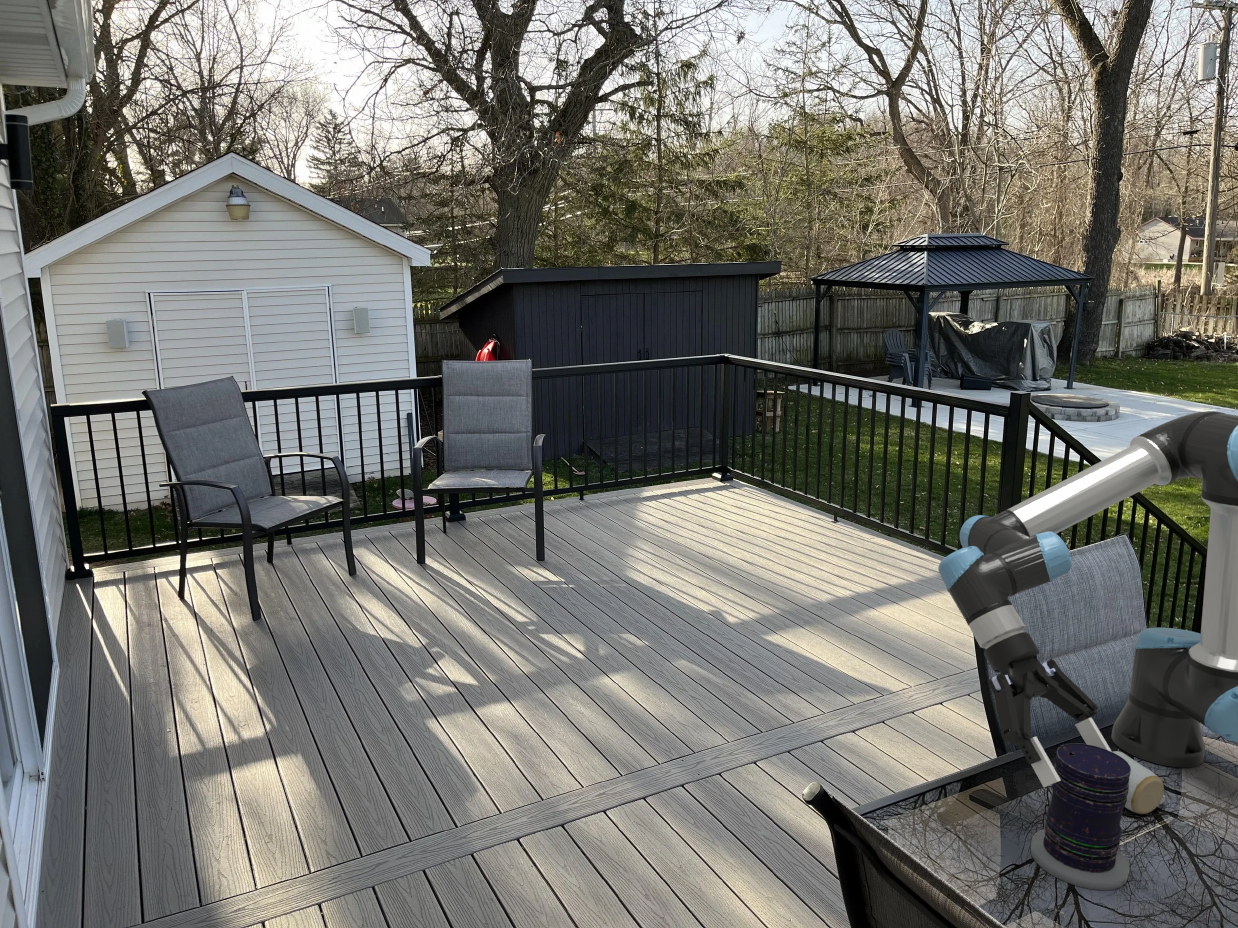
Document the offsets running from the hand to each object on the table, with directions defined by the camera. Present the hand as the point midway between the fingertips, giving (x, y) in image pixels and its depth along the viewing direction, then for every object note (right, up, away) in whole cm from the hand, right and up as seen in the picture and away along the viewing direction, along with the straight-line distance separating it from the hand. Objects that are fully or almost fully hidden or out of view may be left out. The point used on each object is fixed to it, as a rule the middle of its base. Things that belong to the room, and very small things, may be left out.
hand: (1080, 772), depth 135 cm
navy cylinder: (0, -12, +1) cm, 12 cm away
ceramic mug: (+18, -11, +19) cm, 29 cm away
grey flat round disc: (0, -14, +2) cm, 14 cm away
